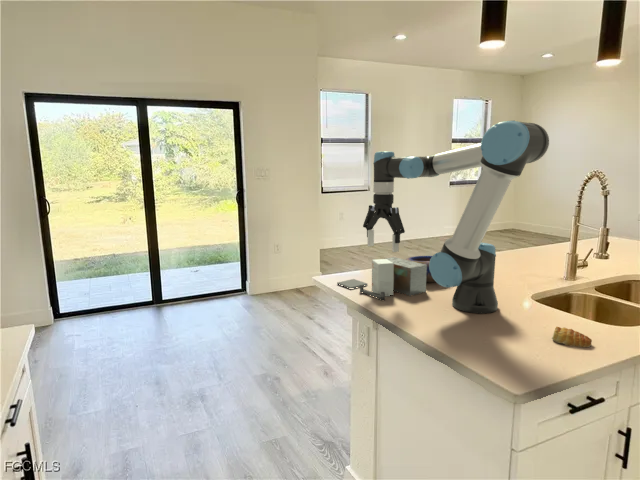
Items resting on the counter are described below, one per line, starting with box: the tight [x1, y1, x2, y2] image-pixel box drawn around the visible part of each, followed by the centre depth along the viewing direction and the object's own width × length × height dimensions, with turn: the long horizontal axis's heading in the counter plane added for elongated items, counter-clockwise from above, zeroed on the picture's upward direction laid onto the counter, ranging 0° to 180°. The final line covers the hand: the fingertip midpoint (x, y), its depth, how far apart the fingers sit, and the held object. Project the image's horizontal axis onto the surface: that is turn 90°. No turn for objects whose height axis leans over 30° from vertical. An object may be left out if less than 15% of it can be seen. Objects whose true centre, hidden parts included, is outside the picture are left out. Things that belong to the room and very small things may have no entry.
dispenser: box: [359, 256, 427, 301], centre depth 167 cm, size 18×21×11 cm
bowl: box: [405, 255, 436, 283], centre depth 184 cm, size 18×18×10 cm
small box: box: [371, 258, 394, 297], centre depth 165 cm, size 8×6×13 cm
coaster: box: [336, 278, 368, 289], centre depth 177 cm, size 9×9×1 cm
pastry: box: [551, 326, 593, 348], centre depth 119 cm, size 9×7×4 cm
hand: (382, 248), depth 163 cm, fingers open, 13 cm apart
